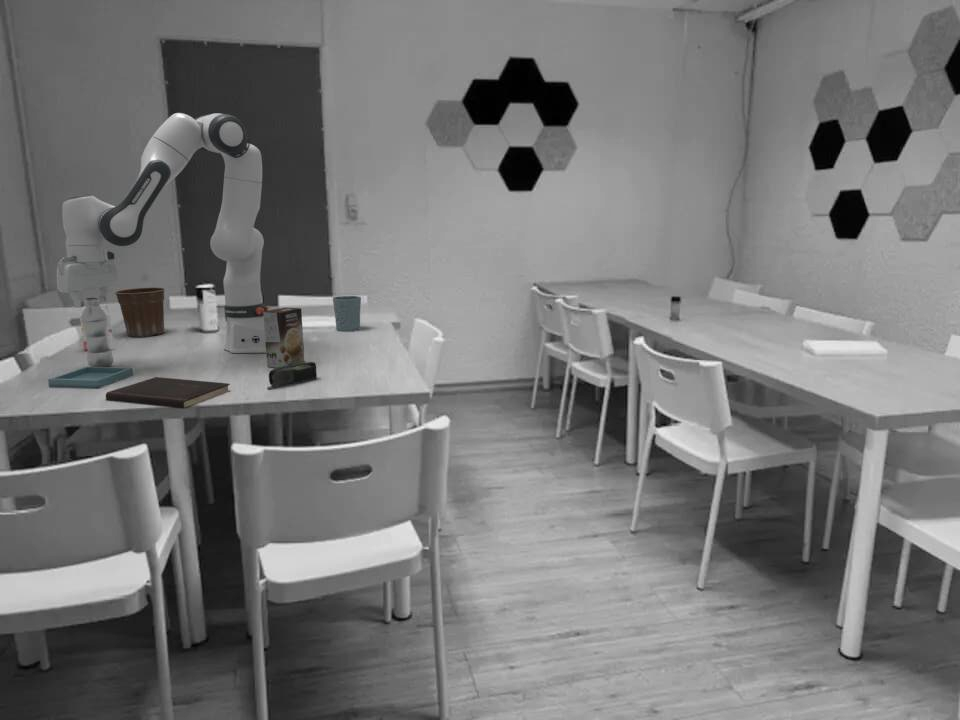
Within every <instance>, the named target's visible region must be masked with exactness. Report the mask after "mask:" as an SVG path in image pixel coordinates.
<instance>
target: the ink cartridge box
mask: <svg viewBox="0 0 960 720" xmlns="http://www.w3.org/2000/svg"><path fill="white" fill-rule="evenodd" d="M99 306H100V308H102V309H103V311H104V312H105V313H106V315H107V336H108V342H109V346H110V350H111V351H113V350H115V344H114V343H115V342H114V338H113V337H114V335H113V328H112V321H111V314H110V311H109V306H108V305H107V304H104V303H100V305H99ZM81 315H82V313H81V314H79V319H80V320H79V321H80V327H81V334H82V342H83V349H84V351H87V339H86V335H85V330H84V327H83V324H82V321H81Z"/></svg>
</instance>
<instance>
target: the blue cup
mask: <svg viewBox="0 0 960 720" xmlns="http://www.w3.org/2000/svg"><path fill="white" fill-rule="evenodd" d="M361 301H362V297H361V296H360V295H359V296H357V295H341V296H340V295H339V296H335V297H334V296H333V297H332V302H333V303H332V304H333V309H334V310H333V311H334V319H335V329H336V332H341V333H342V332H343V333H347V332H348V333H349V332H357V331H359V330H361V304H362V303H361Z"/></svg>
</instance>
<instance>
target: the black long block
mask: <svg viewBox="0 0 960 720" xmlns="http://www.w3.org/2000/svg"><path fill="white" fill-rule="evenodd" d="M317 376H318V375H317V364H316V363H315V362H313V361H309V362H304V363H301V364H294V365H288V366H281V367H277V368H273V369H271V370H270V371H269V373H268V381H269V384H270V386H267V390H275V389H278V388H283V387H287V386H292V385H295V384H300V383H305V382H309V381H313V380H314V381H315V380H316V379H317Z"/></svg>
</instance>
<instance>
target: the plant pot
mask: <svg viewBox="0 0 960 720" xmlns="http://www.w3.org/2000/svg"><path fill="white" fill-rule="evenodd" d="M165 291H166V288H165V287H138V288H130V289H129V288H128V289H122V290H121V289H120V290H117V291H115V292H114V294H115V295H116V298H117V302H118V304H119V307H120V311H121V313H122V318H123V322H124V325H125V331H126V334H127V336H128V337H132V338H147V337H153V336H159V335H162V334H164V333H165V314H164V311H165V310H164V309H165V307H164V301H165Z"/></svg>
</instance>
